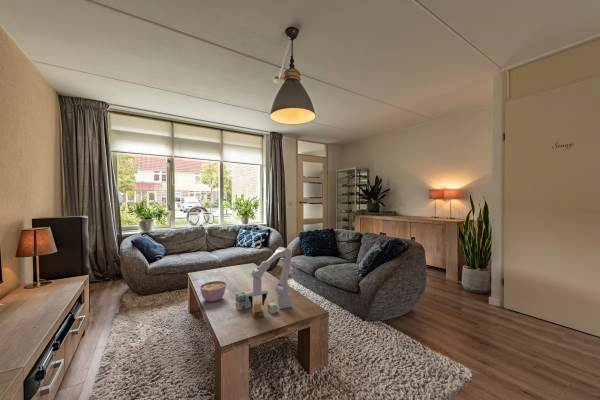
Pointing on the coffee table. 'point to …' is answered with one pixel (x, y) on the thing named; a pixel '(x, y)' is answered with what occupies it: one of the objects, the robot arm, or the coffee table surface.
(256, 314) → the walnut base
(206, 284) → the bowl of food
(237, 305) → the light bulb box
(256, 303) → the terracotta cube
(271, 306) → the sage cube
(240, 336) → the coffee table surface
